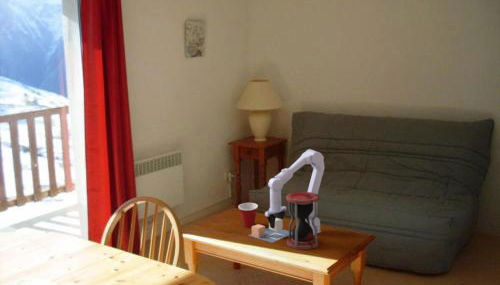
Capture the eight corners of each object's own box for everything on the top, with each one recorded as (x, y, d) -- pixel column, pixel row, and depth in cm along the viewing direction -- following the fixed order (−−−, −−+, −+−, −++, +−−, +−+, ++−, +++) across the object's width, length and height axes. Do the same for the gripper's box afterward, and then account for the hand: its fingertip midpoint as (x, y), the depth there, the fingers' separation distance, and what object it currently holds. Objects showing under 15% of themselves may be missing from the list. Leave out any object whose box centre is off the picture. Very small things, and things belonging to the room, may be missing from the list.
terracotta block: (265, 235, 294) (265, 226, 293) (258, 237, 290) (258, 228, 289) (258, 233, 297) (258, 224, 296) (251, 235, 294) (251, 226, 293)
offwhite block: (282, 228, 291) (282, 219, 290) (276, 231, 288) (276, 221, 287) (275, 226, 295) (275, 217, 294) (269, 229, 291) (268, 219, 290)
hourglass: (310, 251, 270) (310, 201, 266) (281, 246, 278) (280, 197, 274) (324, 241, 283) (324, 193, 279) (295, 236, 292) (295, 190, 287)
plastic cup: (236, 228, 306) (236, 207, 304) (241, 222, 316) (241, 202, 314) (255, 230, 303) (255, 208, 301) (260, 223, 314) (259, 203, 312)
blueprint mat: (295, 233, 296) (295, 232, 296) (271, 243, 283) (271, 242, 283) (271, 226, 308) (271, 226, 308) (247, 235, 294) (247, 235, 294)
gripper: (279, 197, 296) (279, 221, 299) (260, 202, 286) (260, 228, 288) (289, 199, 291) (289, 224, 294) (270, 205, 281) (271, 231, 284)
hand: (275, 226), depth 291 cm, fingers closed on offwhite block, 5 cm apart
